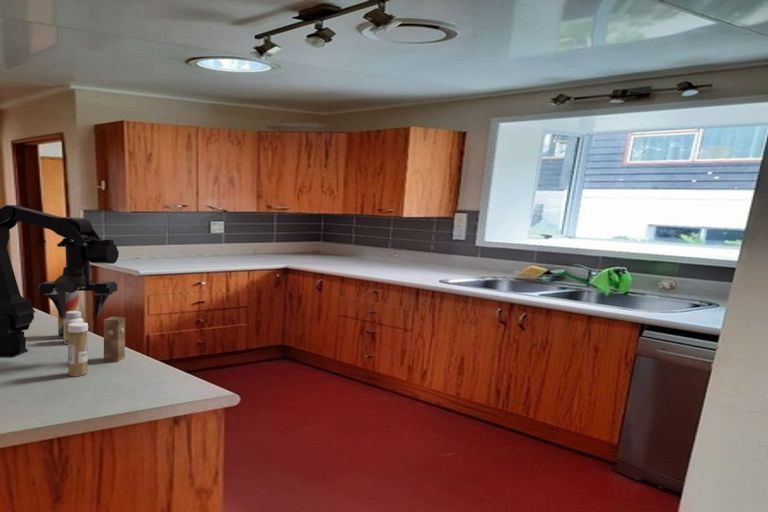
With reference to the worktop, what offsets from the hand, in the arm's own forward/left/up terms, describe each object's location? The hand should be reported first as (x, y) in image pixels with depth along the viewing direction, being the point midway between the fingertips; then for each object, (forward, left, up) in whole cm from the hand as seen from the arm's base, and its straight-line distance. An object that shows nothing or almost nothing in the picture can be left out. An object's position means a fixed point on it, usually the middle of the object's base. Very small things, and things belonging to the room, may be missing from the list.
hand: (79, 317), depth 141 cm
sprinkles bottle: (+6, -12, -12) cm, 18 cm away
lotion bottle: (-16, +22, -12) cm, 30 cm away
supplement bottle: (-11, +16, -12) cm, 23 cm away
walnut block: (+9, +1, -12) cm, 15 cm away
